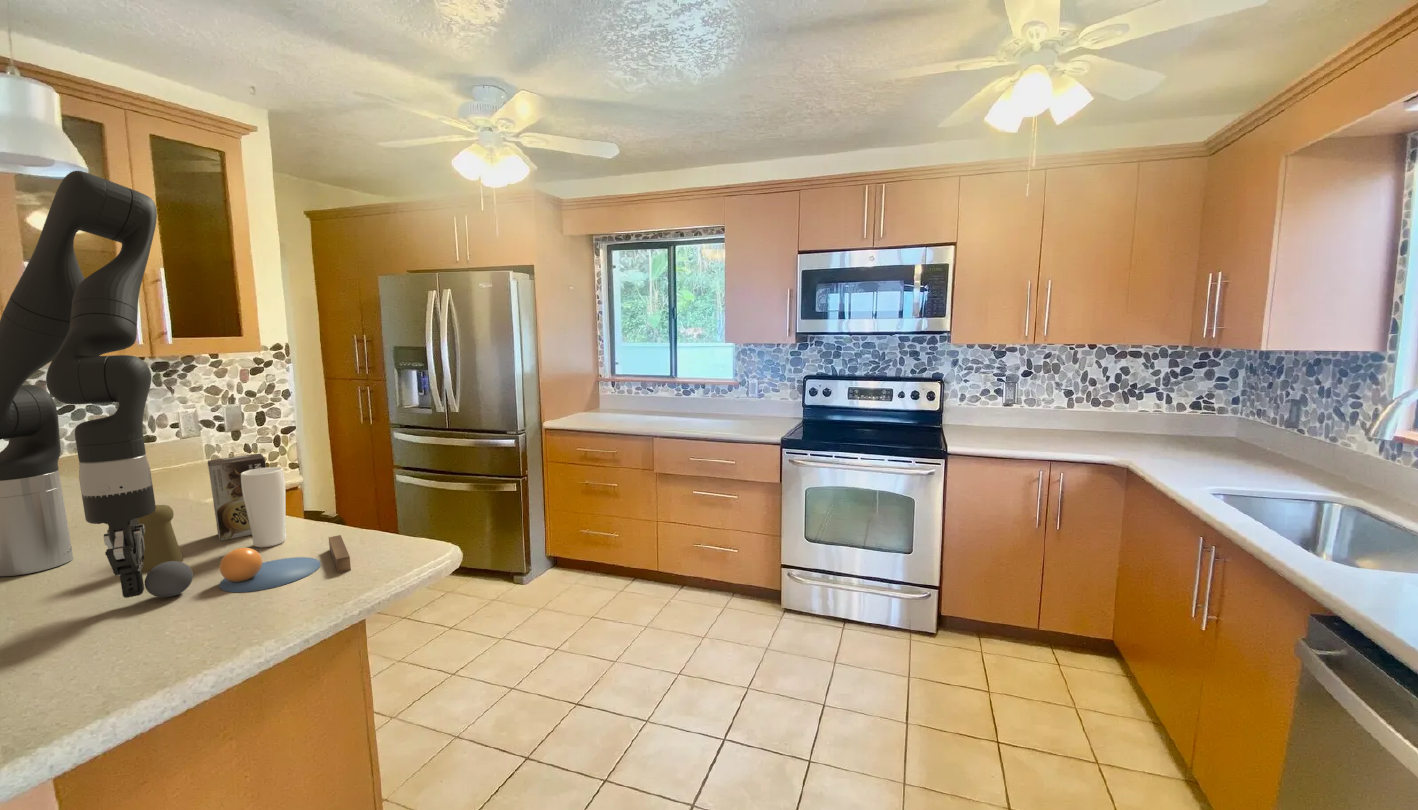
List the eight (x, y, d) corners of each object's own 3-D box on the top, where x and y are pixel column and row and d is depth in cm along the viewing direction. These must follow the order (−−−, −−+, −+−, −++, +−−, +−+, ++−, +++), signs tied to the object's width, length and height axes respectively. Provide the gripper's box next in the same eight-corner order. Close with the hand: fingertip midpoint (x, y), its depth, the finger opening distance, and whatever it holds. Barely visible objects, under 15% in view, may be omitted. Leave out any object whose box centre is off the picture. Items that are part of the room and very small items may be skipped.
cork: (154, 572, 100) (146, 512, 99) (128, 570, 101) (119, 510, 100) (191, 559, 106) (184, 502, 105) (166, 557, 107) (158, 500, 106)
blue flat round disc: (217, 600, 89) (217, 599, 89) (221, 572, 100) (221, 570, 100) (323, 576, 98) (323, 574, 98) (317, 552, 109) (317, 551, 109)
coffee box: (270, 523, 126) (262, 452, 124) (274, 530, 121) (266, 457, 119) (216, 534, 120) (206, 459, 118) (219, 541, 115) (209, 464, 113)
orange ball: (214, 560, 92) (257, 547, 95) (215, 551, 96) (256, 539, 99) (224, 591, 93) (266, 578, 96) (225, 581, 97) (265, 568, 101)
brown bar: (337, 572, 99) (336, 559, 99) (329, 549, 110) (328, 537, 110) (350, 569, 100) (349, 556, 100) (341, 547, 111) (340, 535, 111)
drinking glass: (298, 540, 115) (290, 468, 113) (261, 551, 109) (252, 476, 107) (279, 535, 118) (271, 465, 116) (241, 546, 112) (232, 473, 110)
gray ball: (158, 560, 88) (199, 574, 91) (164, 551, 92) (203, 565, 95) (131, 594, 86) (173, 607, 89) (139, 583, 91) (179, 596, 94)
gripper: (145, 491, 83) (161, 603, 85) (157, 474, 93) (172, 574, 96) (70, 501, 79) (89, 619, 81) (92, 482, 89) (108, 587, 91)
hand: (134, 594), depth 88 cm, fingers closed
